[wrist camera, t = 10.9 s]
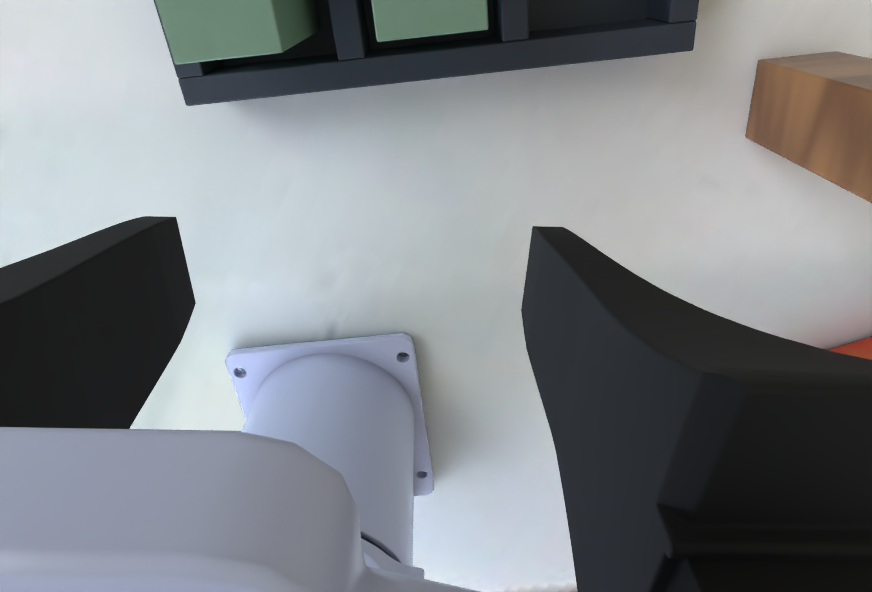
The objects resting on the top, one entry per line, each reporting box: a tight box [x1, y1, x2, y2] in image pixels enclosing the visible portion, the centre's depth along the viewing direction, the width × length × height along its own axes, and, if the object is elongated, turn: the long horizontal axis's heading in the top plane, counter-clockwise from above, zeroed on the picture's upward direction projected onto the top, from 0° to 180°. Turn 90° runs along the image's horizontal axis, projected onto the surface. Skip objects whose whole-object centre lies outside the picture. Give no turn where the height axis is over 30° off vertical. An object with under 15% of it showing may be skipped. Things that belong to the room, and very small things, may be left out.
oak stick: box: [745, 52, 872, 203], centre depth 16 cm, size 3×3×8 cm
